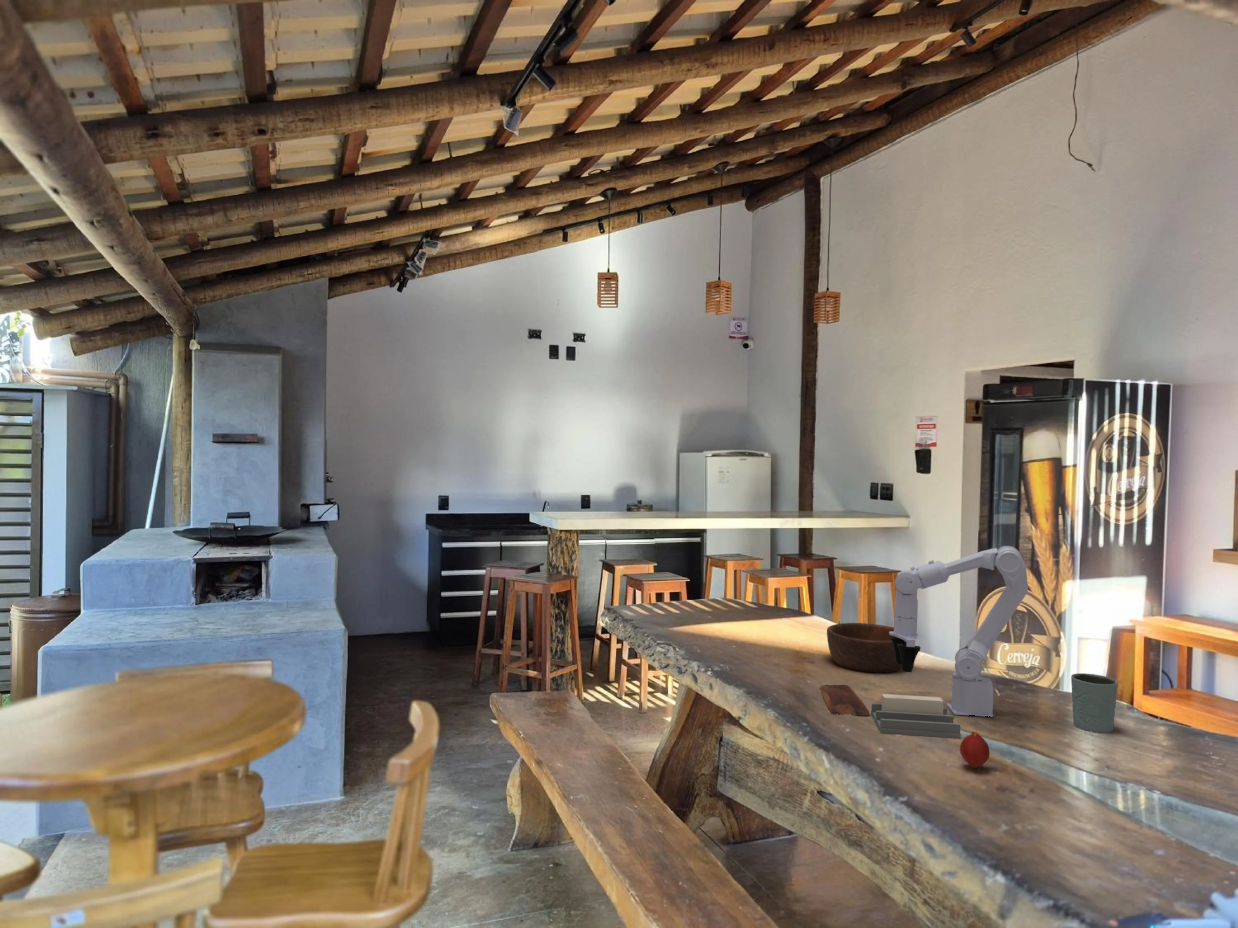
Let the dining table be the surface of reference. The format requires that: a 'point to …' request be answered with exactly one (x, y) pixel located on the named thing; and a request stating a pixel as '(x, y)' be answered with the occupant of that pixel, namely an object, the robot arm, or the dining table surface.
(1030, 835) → the dining table surface
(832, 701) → the wooden tablet
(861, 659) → the wooden bowl
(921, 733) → the grooved grey tray
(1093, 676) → the dark green cup
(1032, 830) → the dining table surface
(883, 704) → the clay bar
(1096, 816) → the dining table surface
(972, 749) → the onion
